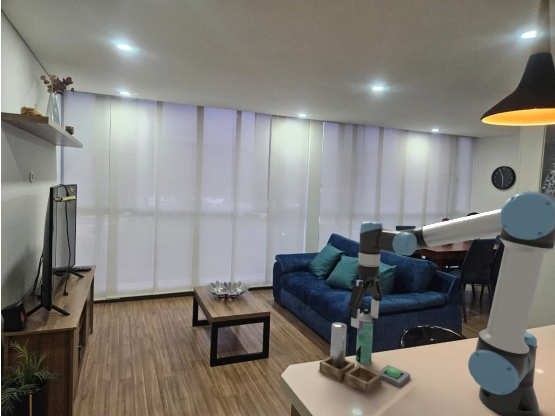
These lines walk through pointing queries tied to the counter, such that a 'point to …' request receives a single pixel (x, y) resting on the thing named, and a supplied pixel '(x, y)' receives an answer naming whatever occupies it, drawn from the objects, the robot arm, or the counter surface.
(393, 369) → the button
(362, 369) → the wooden double crate
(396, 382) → the gray square frame
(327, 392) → the counter surface
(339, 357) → the seated billet
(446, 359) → the counter surface
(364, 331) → the spray can
